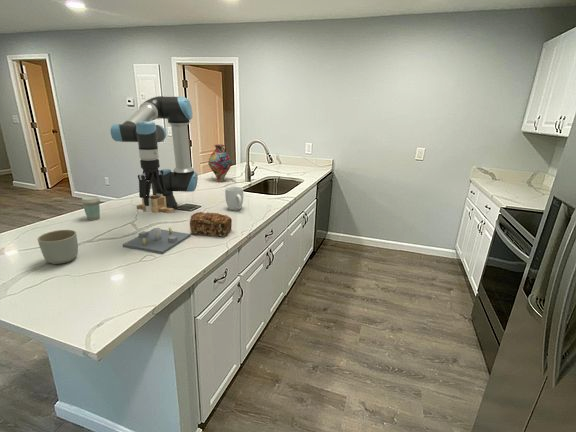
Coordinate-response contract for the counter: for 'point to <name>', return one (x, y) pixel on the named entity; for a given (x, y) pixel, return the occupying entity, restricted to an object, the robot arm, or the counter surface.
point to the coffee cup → (91, 207)
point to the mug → (234, 197)
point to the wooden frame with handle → (156, 205)
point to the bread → (210, 224)
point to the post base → (157, 240)
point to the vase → (220, 163)
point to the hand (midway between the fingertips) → (155, 209)
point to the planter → (59, 246)
